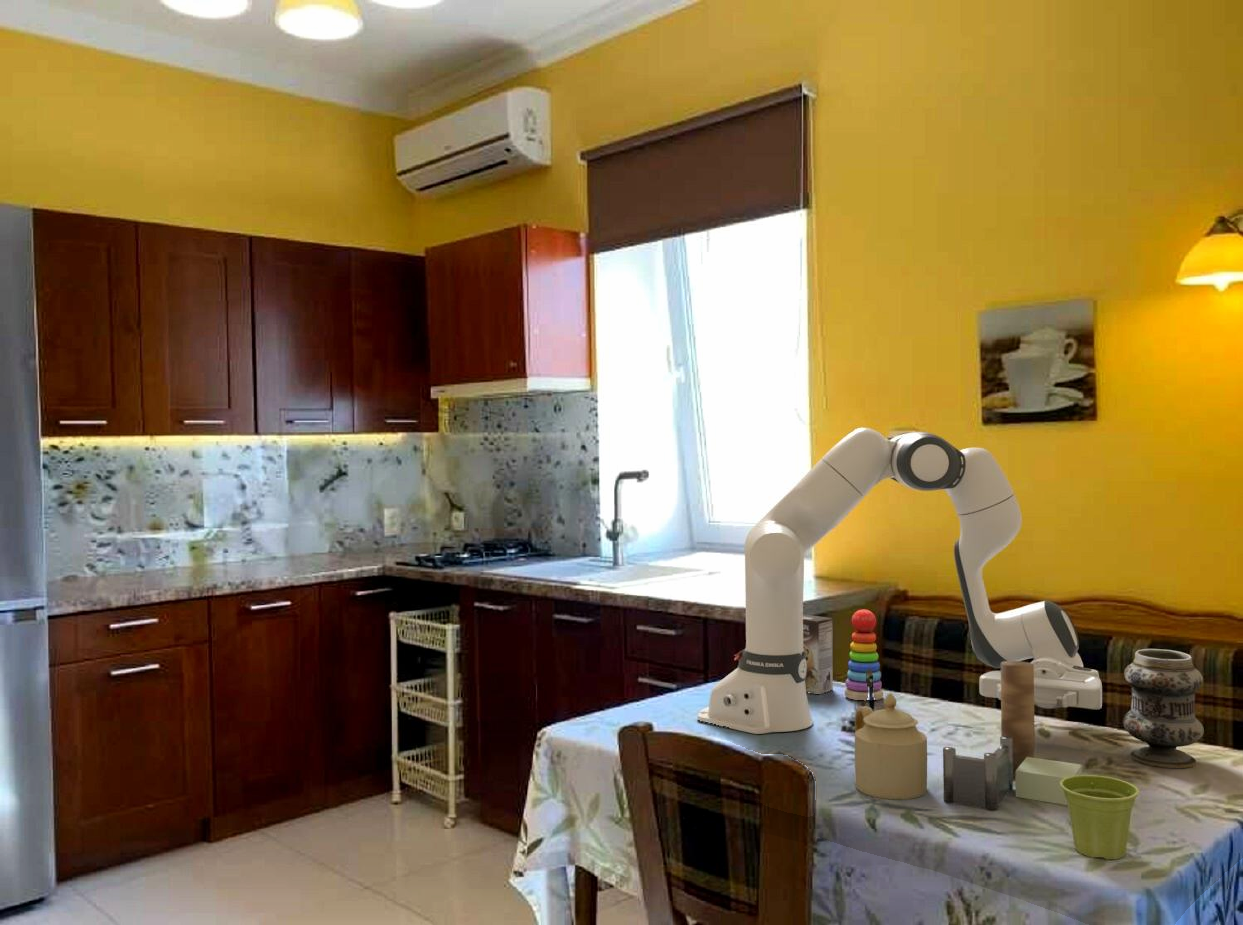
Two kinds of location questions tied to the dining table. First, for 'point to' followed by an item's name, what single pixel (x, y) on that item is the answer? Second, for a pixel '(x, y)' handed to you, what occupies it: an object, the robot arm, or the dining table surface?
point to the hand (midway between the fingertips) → (1031, 699)
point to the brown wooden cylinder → (1018, 709)
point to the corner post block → (978, 777)
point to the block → (1044, 779)
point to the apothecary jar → (1163, 707)
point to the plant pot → (1099, 814)
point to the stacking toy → (863, 658)
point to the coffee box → (818, 653)
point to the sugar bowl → (889, 753)
